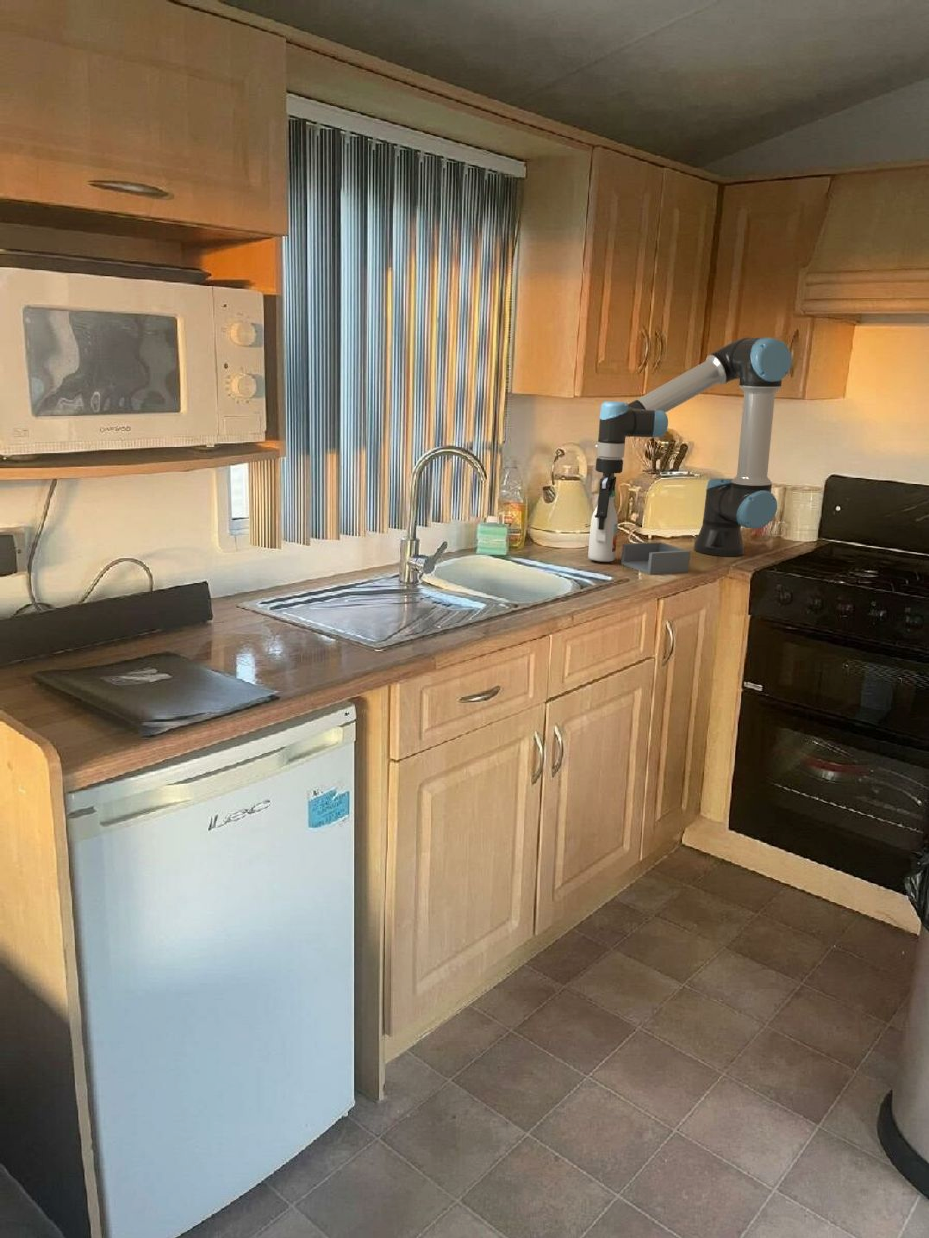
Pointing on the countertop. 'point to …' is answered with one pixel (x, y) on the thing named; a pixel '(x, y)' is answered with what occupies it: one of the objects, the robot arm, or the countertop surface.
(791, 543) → the countertop surface
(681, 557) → the tray
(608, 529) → the milk bottle
